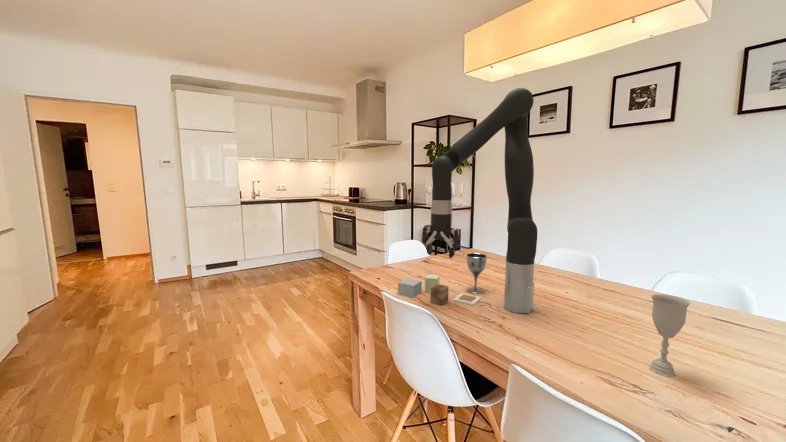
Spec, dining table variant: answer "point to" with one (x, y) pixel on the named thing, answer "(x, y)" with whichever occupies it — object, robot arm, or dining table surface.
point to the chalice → (667, 326)
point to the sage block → (431, 282)
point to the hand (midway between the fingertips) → (440, 255)
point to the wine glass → (476, 268)
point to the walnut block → (439, 294)
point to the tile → (467, 299)
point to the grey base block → (410, 287)
